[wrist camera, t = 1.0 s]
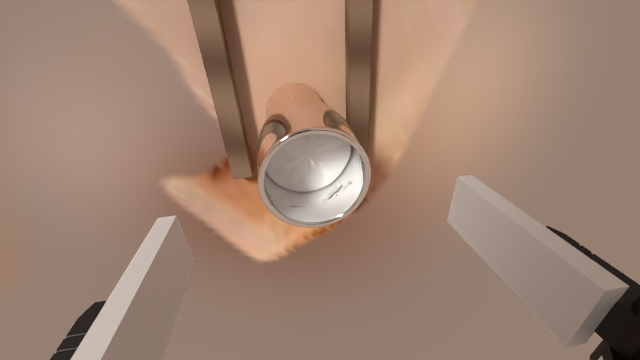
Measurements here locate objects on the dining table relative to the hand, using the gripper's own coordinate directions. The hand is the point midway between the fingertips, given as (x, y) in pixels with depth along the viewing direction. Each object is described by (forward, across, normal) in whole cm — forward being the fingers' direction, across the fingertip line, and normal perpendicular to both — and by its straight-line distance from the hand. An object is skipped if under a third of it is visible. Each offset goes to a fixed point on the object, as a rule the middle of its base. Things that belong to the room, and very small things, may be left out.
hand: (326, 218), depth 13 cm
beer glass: (+18, 0, 0) cm, 18 cm away
